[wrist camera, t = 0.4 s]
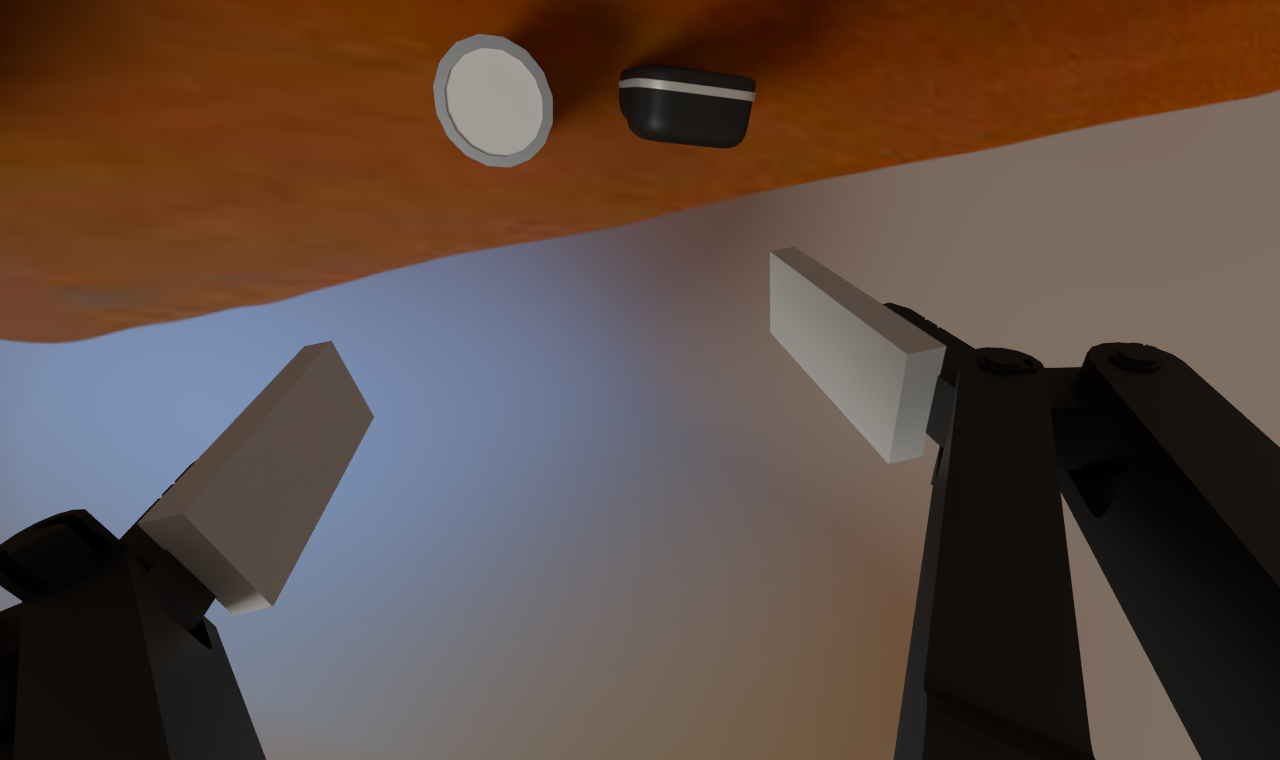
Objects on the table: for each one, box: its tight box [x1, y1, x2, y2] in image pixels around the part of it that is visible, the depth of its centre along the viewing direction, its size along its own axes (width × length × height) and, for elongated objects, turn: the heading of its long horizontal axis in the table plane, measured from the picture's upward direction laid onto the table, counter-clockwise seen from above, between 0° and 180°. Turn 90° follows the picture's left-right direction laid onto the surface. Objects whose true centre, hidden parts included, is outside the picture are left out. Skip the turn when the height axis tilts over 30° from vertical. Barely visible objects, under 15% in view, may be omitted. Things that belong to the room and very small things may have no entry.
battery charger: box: [619, 65, 756, 148], centre depth 31 cm, size 7×4×11 cm, turn 84°
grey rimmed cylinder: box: [433, 34, 553, 167], centre depth 31 cm, size 7×7×7 cm
